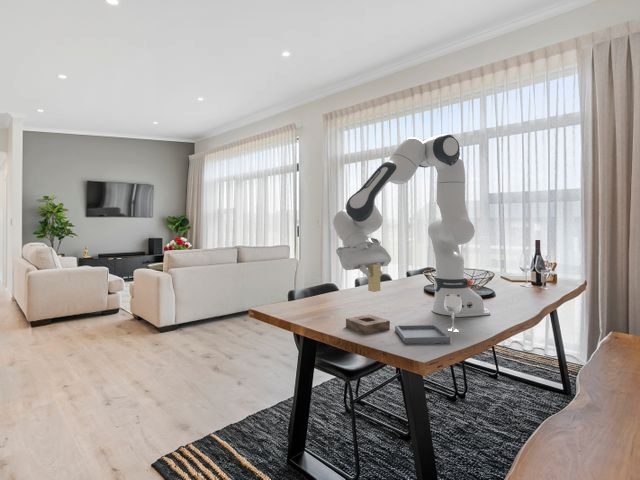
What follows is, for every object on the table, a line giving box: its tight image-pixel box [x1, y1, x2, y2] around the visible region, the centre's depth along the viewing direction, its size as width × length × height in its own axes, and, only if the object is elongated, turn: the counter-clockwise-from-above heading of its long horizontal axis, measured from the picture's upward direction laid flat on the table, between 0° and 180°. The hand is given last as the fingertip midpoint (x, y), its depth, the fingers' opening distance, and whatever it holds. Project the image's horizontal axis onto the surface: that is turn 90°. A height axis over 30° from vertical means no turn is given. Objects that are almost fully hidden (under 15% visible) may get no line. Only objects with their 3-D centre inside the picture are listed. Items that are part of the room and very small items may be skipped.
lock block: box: [345, 314, 391, 335], centre depth 134 cm, size 11×11×3 cm
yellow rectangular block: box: [367, 265, 381, 293], centre depth 132 cm, size 3×3×9 cm
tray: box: [394, 324, 451, 345], centre depth 123 cm, size 14×14×2 cm
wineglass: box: [444, 294, 462, 333], centre depth 130 cm, size 6×6×12 cm
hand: (375, 275), depth 131 cm, fingers closed on yellow rectangular block, 3 cm apart
